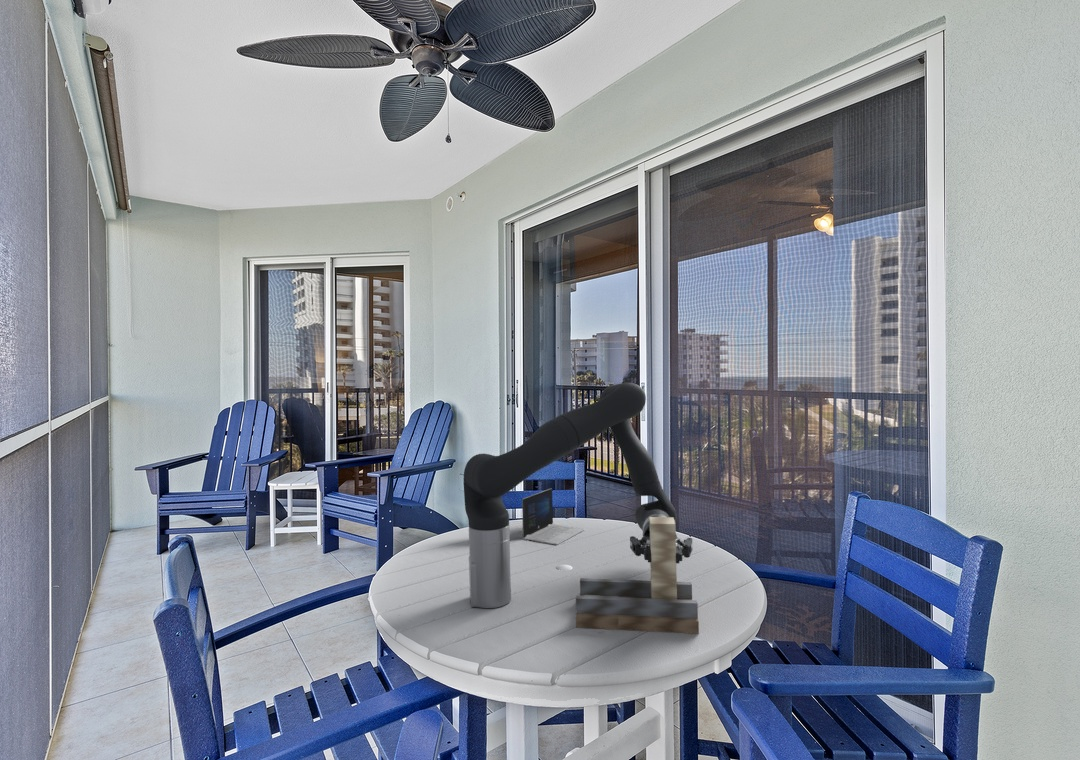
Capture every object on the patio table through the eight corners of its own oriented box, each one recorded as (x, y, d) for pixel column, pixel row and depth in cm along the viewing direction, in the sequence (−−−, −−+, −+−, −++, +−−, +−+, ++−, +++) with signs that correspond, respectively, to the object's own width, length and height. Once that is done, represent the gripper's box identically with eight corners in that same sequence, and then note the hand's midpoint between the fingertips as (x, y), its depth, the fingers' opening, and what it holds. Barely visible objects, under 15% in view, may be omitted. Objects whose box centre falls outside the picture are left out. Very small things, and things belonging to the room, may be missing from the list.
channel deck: (576, 627, 109) (575, 600, 109) (581, 600, 122) (580, 576, 122) (698, 633, 106) (698, 605, 105) (691, 605, 118) (690, 580, 118)
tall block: (652, 601, 111) (650, 523, 111) (651, 591, 116) (649, 516, 115) (677, 602, 110) (675, 524, 110) (675, 592, 115) (673, 517, 115)
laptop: (557, 546, 162) (556, 503, 162) (522, 540, 169) (521, 498, 169) (584, 531, 177) (584, 491, 177) (552, 526, 184) (551, 487, 184)
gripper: (627, 516, 128) (627, 539, 111) (690, 518, 126) (699, 540, 109) (628, 548, 128) (628, 575, 111) (690, 550, 126) (700, 578, 109)
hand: (663, 558), depth 110 cm, fingers closed on tall block, 5 cm apart
